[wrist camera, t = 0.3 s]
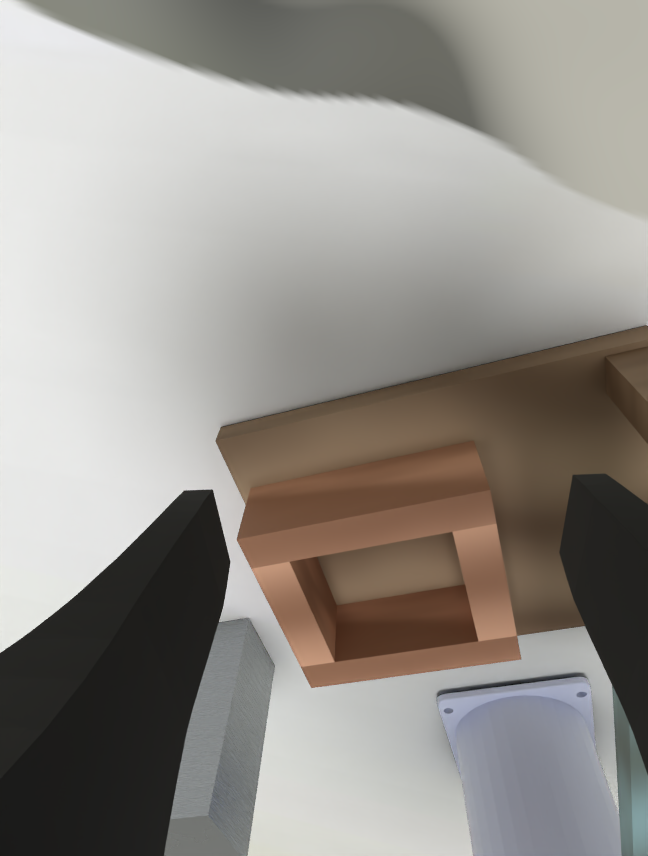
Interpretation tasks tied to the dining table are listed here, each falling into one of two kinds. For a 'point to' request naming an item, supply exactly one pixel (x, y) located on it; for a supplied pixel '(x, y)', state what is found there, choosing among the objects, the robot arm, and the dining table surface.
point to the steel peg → (223, 748)
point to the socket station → (442, 517)
